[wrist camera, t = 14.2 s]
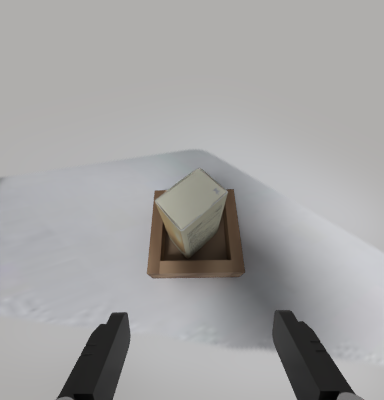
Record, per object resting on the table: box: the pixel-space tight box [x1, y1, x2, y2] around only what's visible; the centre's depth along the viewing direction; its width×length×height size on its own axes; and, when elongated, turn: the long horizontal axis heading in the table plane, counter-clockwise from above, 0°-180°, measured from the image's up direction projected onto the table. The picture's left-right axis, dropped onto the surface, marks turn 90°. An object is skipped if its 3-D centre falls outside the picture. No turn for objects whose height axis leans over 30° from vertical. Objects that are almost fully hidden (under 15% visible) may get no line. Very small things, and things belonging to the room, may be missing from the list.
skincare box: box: [155, 168, 228, 259], centre depth 24 cm, size 6×4×12 cm
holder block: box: [147, 189, 245, 278], centre depth 29 cm, size 12×12×4 cm
